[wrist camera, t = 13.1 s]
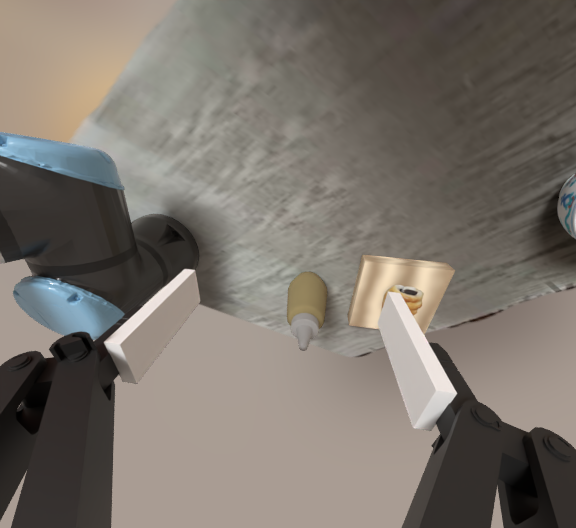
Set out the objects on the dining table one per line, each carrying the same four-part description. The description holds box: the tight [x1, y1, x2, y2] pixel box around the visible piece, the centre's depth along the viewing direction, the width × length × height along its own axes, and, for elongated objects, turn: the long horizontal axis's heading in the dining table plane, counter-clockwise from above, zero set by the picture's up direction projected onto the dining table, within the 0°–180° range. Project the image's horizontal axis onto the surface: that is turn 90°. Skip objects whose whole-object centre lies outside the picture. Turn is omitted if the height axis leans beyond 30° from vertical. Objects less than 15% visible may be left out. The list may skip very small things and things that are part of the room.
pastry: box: [382, 285, 424, 315], centre depth 43 cm, size 9×7×4 cm
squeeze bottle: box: [287, 272, 327, 351], centre depth 40 cm, size 8×8×18 cm
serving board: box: [348, 255, 455, 334], centre depth 45 cm, size 16×16×3 cm
